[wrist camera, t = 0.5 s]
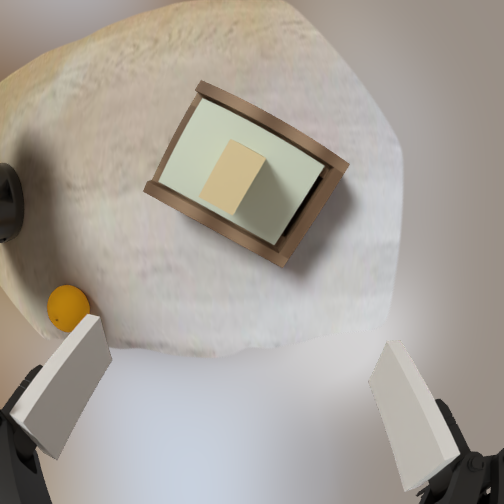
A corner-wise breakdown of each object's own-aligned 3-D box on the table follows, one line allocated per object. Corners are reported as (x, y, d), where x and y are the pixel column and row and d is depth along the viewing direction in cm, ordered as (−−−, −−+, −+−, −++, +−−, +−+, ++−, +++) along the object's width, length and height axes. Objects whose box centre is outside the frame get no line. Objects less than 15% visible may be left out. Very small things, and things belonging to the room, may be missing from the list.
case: (163, 183, 33) (143, 191, 26) (212, 93, 28) (201, 80, 22) (279, 247, 35) (282, 268, 29) (333, 161, 31) (349, 164, 25)
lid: (160, 180, 27) (128, 192, 20) (204, 99, 24) (183, 81, 17) (273, 242, 29) (278, 273, 22) (322, 165, 26) (344, 171, 19)
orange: (59, 301, 40) (37, 323, 33) (65, 270, 38) (39, 290, 31) (91, 325, 42) (72, 350, 35) (100, 295, 39) (77, 320, 32)
